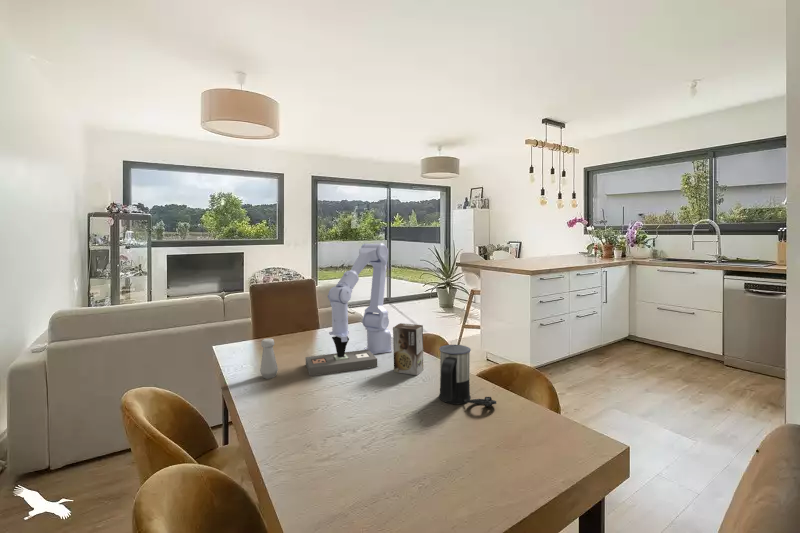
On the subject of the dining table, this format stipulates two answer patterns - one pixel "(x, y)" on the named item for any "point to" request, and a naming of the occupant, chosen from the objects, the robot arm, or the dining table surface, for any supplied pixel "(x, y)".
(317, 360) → the button three
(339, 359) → the button two
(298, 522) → the dining table surface
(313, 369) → the button board
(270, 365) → the salt shaker
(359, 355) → the button one
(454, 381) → the milk frother
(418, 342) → the printed cardboard box
